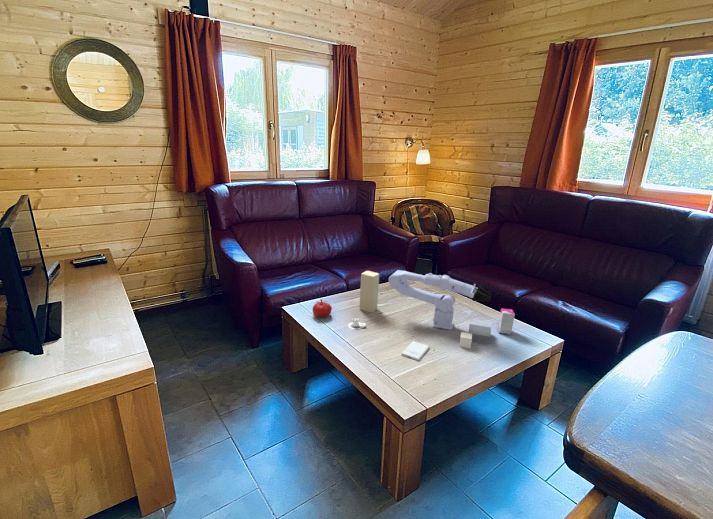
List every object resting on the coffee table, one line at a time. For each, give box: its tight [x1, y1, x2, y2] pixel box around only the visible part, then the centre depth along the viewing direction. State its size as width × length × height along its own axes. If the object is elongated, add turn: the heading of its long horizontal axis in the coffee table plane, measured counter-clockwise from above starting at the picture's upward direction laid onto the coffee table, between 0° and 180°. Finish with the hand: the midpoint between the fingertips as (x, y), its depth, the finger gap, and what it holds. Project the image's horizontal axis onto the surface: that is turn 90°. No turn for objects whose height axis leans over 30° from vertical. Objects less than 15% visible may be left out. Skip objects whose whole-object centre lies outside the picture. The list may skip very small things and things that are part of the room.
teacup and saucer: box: [347, 317, 367, 330], centre depth 192 cm, size 9×8×4 cm
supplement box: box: [497, 308, 516, 336], centre depth 189 cm, size 6×6×12 cm
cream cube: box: [458, 331, 473, 349], centre depth 177 cm, size 5×5×5 cm
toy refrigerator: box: [359, 270, 380, 313], centre depth 209 cm, size 8×7×21 cm
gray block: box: [468, 323, 492, 345], centre depth 185 cm, size 10×10×4 cm
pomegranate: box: [312, 298, 333, 319], centre depth 201 cm, size 10×10×9 cm
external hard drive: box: [400, 340, 430, 361], centre depth 171 cm, size 2×8×12 cm
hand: (490, 298), depth 181 cm, fingers open, 7 cm apart
